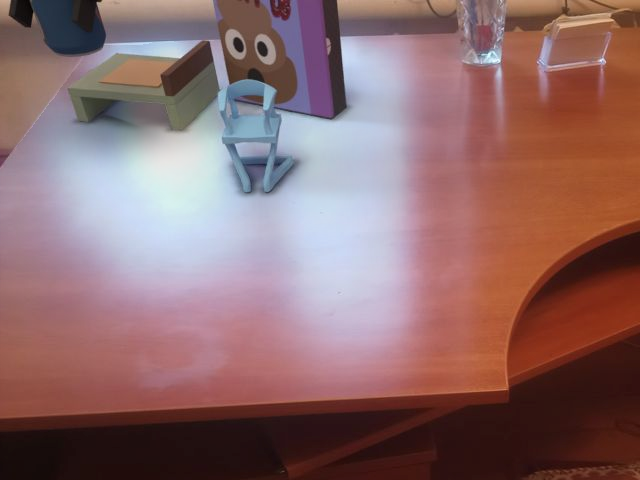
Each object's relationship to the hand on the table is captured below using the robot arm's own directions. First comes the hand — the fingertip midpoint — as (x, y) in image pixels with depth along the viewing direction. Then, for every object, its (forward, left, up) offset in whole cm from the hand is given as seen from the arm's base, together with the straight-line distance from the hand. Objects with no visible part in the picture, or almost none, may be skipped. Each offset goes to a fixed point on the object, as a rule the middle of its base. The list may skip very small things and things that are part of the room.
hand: (50, 23), depth 83 cm
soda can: (0, +4, -4) cm, 5 cm away
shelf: (-3, +20, -18) cm, 27 cm away
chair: (+21, +2, -19) cm, 28 cm away
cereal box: (+17, +25, -19) cm, 36 cm away
